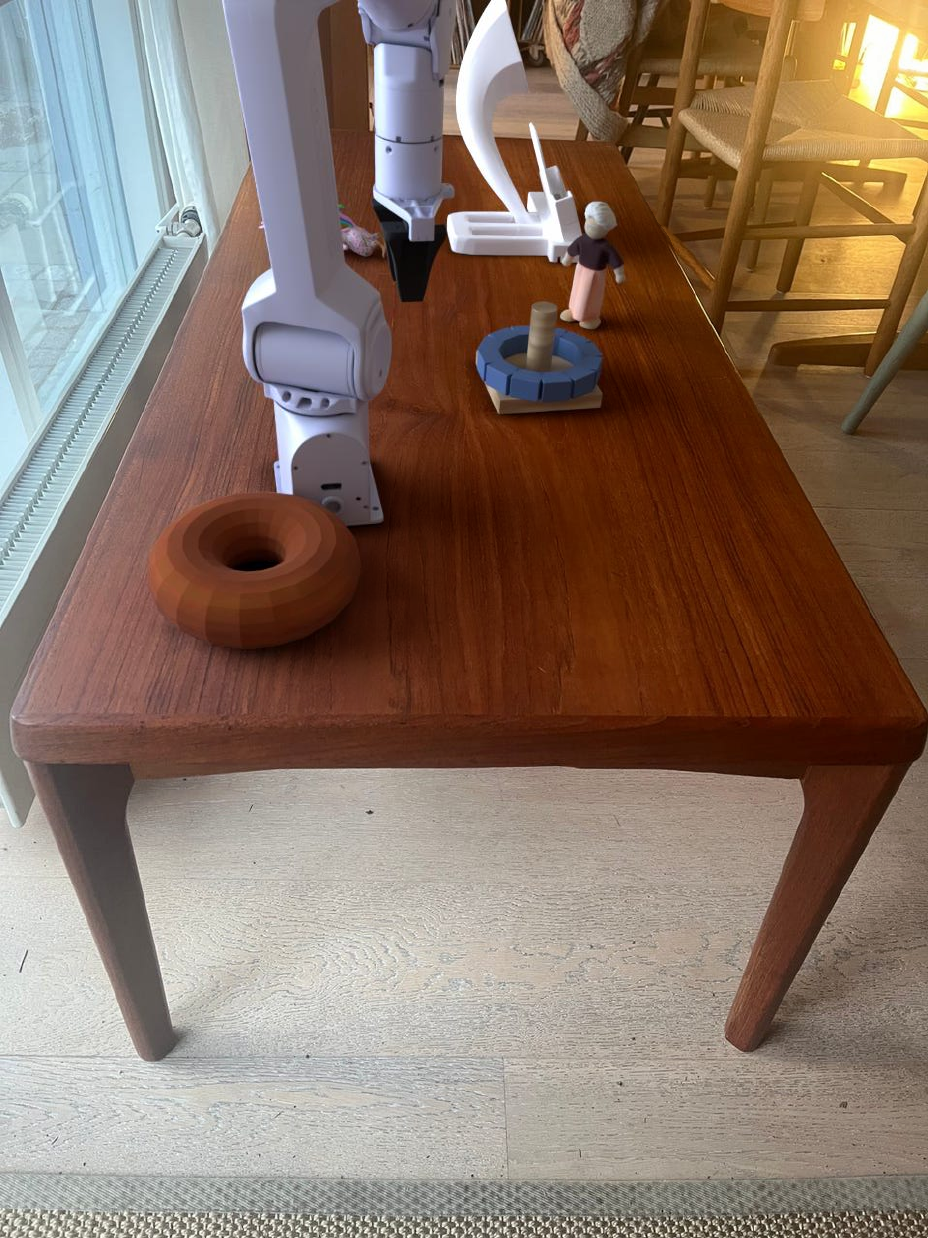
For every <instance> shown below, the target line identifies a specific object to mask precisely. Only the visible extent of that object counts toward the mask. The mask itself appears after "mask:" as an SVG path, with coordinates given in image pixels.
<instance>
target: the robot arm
mask: <svg viewBox="0 0 928 1238" xmlns="http://www.w3.org/2000/svg"><path fill="white" fill-rule="evenodd" d="M340 1H341V0H221V2H222V9H223V14H224V20H225V26H226V30H227V36H228V42H229V47H230V52H231V58H232V63H233V68H234V74H235V79H236V84H237V89H238V95H239V100H240V106H241V111H242V112H241V113H242V116H243V122H244V127H245V132H246V138H247V143H248V149H249V154H250V159H251V165H252V171H253V177H254V182H255V186H256V187H255V188H256V192H257V198H258V202H259V209H260V215H261V218H262V219H261V220H262V221H263V224H262V225H264V229H263V230H264V235H265V241H266V245H267V251H268V257H269V262H270V268H269V269H267V270H266V271H264V272H263V273H262V274H260V275H259V276H258V277H257V278H256V279H255V280H254V281H253V283H252V284H251V286H250V288H248V291H247V293H246V296H245V297H244V300H243V303H242V305H241V316H242V323H243V324H242V325H243V335H242V354H243V360H244V364H245V367H246V368H247V370H248V373H249V375H250V376H251V378H252V379H253V380H254V381H255V382H256V383H259V384H260V383H261V384H262V385H263V391H264V393H263V394H264V397H265V398H266V399H271V400H273V409H274V420H275V431H276V442H277V453H278V460H276V461H275V462H274V463H273V469H274V477H275V478H274V479H275V487H276V493H284V494H292V495H296V496H299V497H302V498H305V499H308V500H311V501H314V502H316V503H318V504H320V505H321V506H323V507H324V508H326V509H327V510H329V511H330V512H332V513H333V514H335V515H336V516H337V517H338V518H339V519H341V520H342V521H343V522H344V524H345V525H346V527H351V526H364V525H374V524H380V523H383V522H384V512H383V508H382V505H381V501H380V496H379V493H378V489H377V484H376V480H375V477H374V473H373V469H372V464H371V460H370V412H369V411H370V410H369V409H370V408H369V406H370V405H369V404H370V403H369V402H372V401H374V399H375V398H376V397H377V396H378V395H379V394H381V392H382V391H383V389H384V388H385V385H386V382H387V380H388V374H389V372H390V367H391V361H392V350H393V349H392V348H393V341H392V340H393V338H392V332H391V328H390V326H389V324H388V323H387V320H386V316H385V312H384V305H383V302H382V299H381V293H380V292H379V290H377V289H376V288H375V287H374V286H373V285H372V284H371V283H370V282H369V281H367V280H366V279H365V278H363V276H361V275H360V274H359V273H357V272H356V271H355V270H354V269H352V267H350V266H349V265H348V264H347V263H346V259H345V258H346V257H345V250H344V249H343V240H342V231H341V230H342V225H341V223H340V214H339V206H338V205H339V199H338V190H337V188H338V187H337V180H336V173H335V165H334V155H333V146H332V137H331V130H330V120H329V112H328V111H329V110H328V104H327V103H328V102H327V96H326V87H325V86H326V85H325V77H324V68H323V60H322V53H321V42H320V36H319V26H318V21H319V20H318V19H319V17H320V14H321V12H322V11H323V10H324V9H327V8H328V7H330V6H332V5H334V4H336V3H339V2H340ZM357 8H358V14H359V15H360V18H361V25H362V33H363V36H364V37H363V38H364V39H365V43H366V44H367V45H368V44H369V45H371V46H374V45H376V46H375V47H374V48H373V72H374V73H373V79H374V161H375V163H374V166H375V169H374V171H375V176H374V177H375V183H374V184H373V186H372V187H373V188H372V189H373V190H372V193H373V198H372V199H371V200H370V204H371V206H372V209H373V211H374V213H375V214H376V217H377V219H378V221H379V225H380V230H381V233H382V236H383V237H384V240H385V245H386V251H385V252H386V257H387V261H388V262H387V263H388V267H389V272H390V276H391V278H392V281H393V282H395V284H396V289H397V293H398V297H399V300H400V302H401V303H420V302H421V303H422V302H424V299H425V296H426V292H427V289H428V284H429V280H430V276H431V272H432V268H433V265H434V262H435V258H436V257H437V254H438V253H439V251H440V249H441V247H442V246H443V244H444V243H445V241H446V239H447V236H448V232H447V226H446V225H445V224H444V223H442V224H435V223H436V222H435V216H436V214H437V212H438V210H439V209H440V206H441V204H442V202H443V200H450V199H454V198H455V188H454V186H453V184H451V183H448V182H447V183H446V182H442V171H443V138H444V137H443V135H444V134H443V133H444V107H445V106H444V105H445V104H444V102H445V78H446V77H445V76H446V75H447V74H449V72H450V64H451V57H452V55H451V54H452V43H453V37H454V32H455V27H456V19H457V18H456V17H457V0H357Z"/></svg>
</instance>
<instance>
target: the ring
mask: <svg viewBox="0 0 928 1238" xmlns="http://www.w3.org/2000/svg"><path fill="white" fill-rule="evenodd" d="M529 330H530V324H526V325H511V326H510V327H504V328H501V329H498V330H496V331H493V332H491V333H488V334H487V335H485V337H484V338H483V340H482V341H481V343H480V344H479V345H478V347H477V350H478V357H477V365H476V370H477V372H478V374H479V377H480V378H481V380H482V382H483V383H484V382H486V385H488V386H490V387H492V388H494V389H495V390H497V391H499V392H501V393H502V394H504V395H507V394H509V393H510V397H514V398H519V399H524V400H530V401H535V402H538V400H539V398H540V400H541V401H542V402H555V401H568V400H570V398H572V399H575V398H578V397H580V396H582V395H584V394H586V393H588V392H591V391H592V390H593V389H595V387H596V385H598V382H599V380H600V378H601V373H602V367H603V360H604V356H603V354H602V352H601V351H600V349H599V348H598V347H597V345H596V344H595V342H592V341H591V339H589V338H586V337H584V336H582V335H580V334H579V333H576V332H574V331H572V330H569V331H568V329H565V328H560V327H556V328H555V337H554V345H553V354H552V355H555V356H559V357H561V358H563V359H565V360H567V361H569V362H571V363H573V365H574V367H571V368H569V369H567V370H564V371H557V372H542V373H541V372H535V371H530V370H525V369H520V368H518V367H516V366H514V365H512V364H510V363H508V362H507V361H505V360H504V359H505V358H507V357H510V356H512V355H515V354H517V353H527V350H528V340H529ZM486 385H485V386H486Z"/></svg>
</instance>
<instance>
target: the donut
mask: <svg viewBox="0 0 928 1238" xmlns="http://www.w3.org/2000/svg"><path fill="white" fill-rule="evenodd" d="M252 562H269V563H270V562H271V563H275V564H276V565H275V566H273V567H269V568H266V569H262V570H251V571H246V570H238V569H234V568H236V567H238V566H240V565H241V566H242V565H245V564H248V563H252ZM361 572H362V564H361V557H360V551H359V546H358V544H357V540H356V537H355V536H354V535H353V533H352V531H350V529H349V528H348V526H346V525H345V524H344V522H343V521H342V520H341V519H339V518H338V517H337V516H336V515H335V514H333V513H332V512H330V511H329V510H327V509H326V508H324V507H323V506H321V505H320V504H318V503H316V502H314V501H311V500H308V499H305V498H302V497H299V496H296V495H292V494H284V493H277V491H276V492H275V491H267V490H263V491H248V492H247V491H246V492H235V493H231V494H228V495H223V496H219V497H215V498H211V499H208V500H206V501H204V502H202V503H200V504H197V505H195V506H193V507H191V508H189V509H187V510H185V511H183V512H182V513H181V514H180V515H179V516H177V517H176V518H174V520H172V521H171V522H170V523H169V524H168V525H166V527H164V529H163V530H162V532H161V533H160V535H159V536H158V538H157V540H156V541H155V543H154V545H153V546H152V548H151V550H150V551H149V555H148V565H147V575H146V576H147V578H146V585H147V588H148V591H149V592H150V594H151V597H152V599H153V601H154V603H155V606H156V608H157V609H158V611H159V613H160V615H161V616H162V617H164V618H165V619H166V620H167V621H168V622H169V623H171V624H172V625H173V626H174V627H175V628H176V629H178V630H179V631H180V632H182V633H184V634H186V635H187V636H189V637H193V638H195V639H198V640H200V641H203V642H205V643H208V644H210V645H213V646H216V647H217V646H218V647H225V648H233V649H240V650H251V649H252V650H253V649H263V648H274V647H276V648H277V647H280V646H282V645H286V644H288V643H289V644H290V643H292V642H295V641H299V640H301V639H305V638H307V637H309V636H310V635H313V633H316V632H317V631H318V630H320V629H322V628H325V626H327V625H329V624H330V623H331V622H332V621H334V620H335V619H336V618H337V616H338V615H339V614H341V612H342V611H343V610H344V609H345V608H346V607H347V605H348V604H349V603H350V602H351V601H352V600H353V596H354V595H355V591H356V589H357V585H358V582H359V580H360V576H361Z"/></svg>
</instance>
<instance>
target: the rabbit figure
mask: <svg viewBox="0 0 928 1238" xmlns="http://www.w3.org/2000/svg"><path fill="white" fill-rule="evenodd" d="M338 206H339V214H340V223H341V226H348V227H346V228H343V229H342V228H341V231H342V240H343V249H344V251H348V250H350V251H352V252H353V253H356V254H358V255H360V256H362V257H367V258H368V257H370V256H372V255H373V253H374V251H375V249H376V248H377V246H379V247H380V248H381V251H382V254H381V255H382V258H383V259H385V254H386V252H387V251H386V245H385V240H384V235H382V234H381V233H380V232H375V233H369V231H367V230H366V229H365V228H363V227H361V226H357V225H356V224H355V223H354V222H353V220H352V219H351V218H350V217H349V216H348V215H346V214H343V213H342V212H341V211H342V210H343V209H345V208H346V206H344V205H342V204H338ZM258 229H260V230H261V229H263V230H264V225H263V220H261V222H260V226H259V227H258ZM378 239H381V240H382V243H383V244H382V243H381V242H380V241H379V240H378Z"/></svg>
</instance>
